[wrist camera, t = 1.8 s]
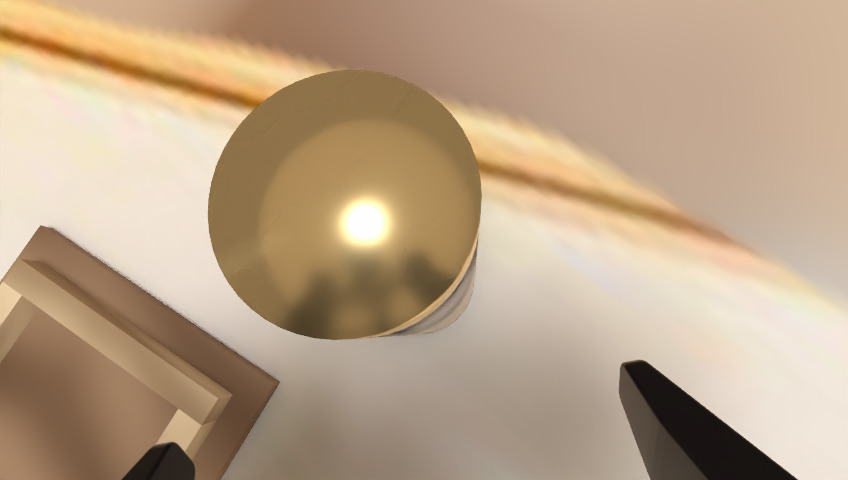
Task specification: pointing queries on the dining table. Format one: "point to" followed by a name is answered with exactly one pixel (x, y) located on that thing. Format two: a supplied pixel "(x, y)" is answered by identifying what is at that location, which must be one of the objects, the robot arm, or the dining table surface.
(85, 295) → the socket board
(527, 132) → the dining table surface
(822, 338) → the dining table surface
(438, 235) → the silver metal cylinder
